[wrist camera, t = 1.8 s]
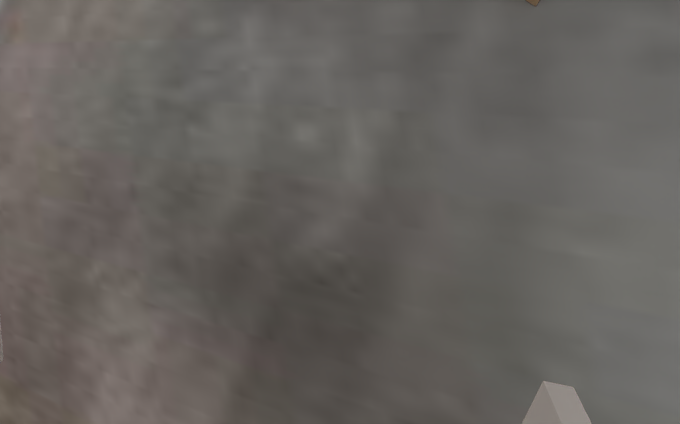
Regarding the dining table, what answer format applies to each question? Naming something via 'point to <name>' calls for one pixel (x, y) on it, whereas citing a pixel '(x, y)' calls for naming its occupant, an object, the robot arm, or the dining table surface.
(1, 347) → the robot arm
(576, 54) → the dining table surface
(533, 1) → the wooden step stool
